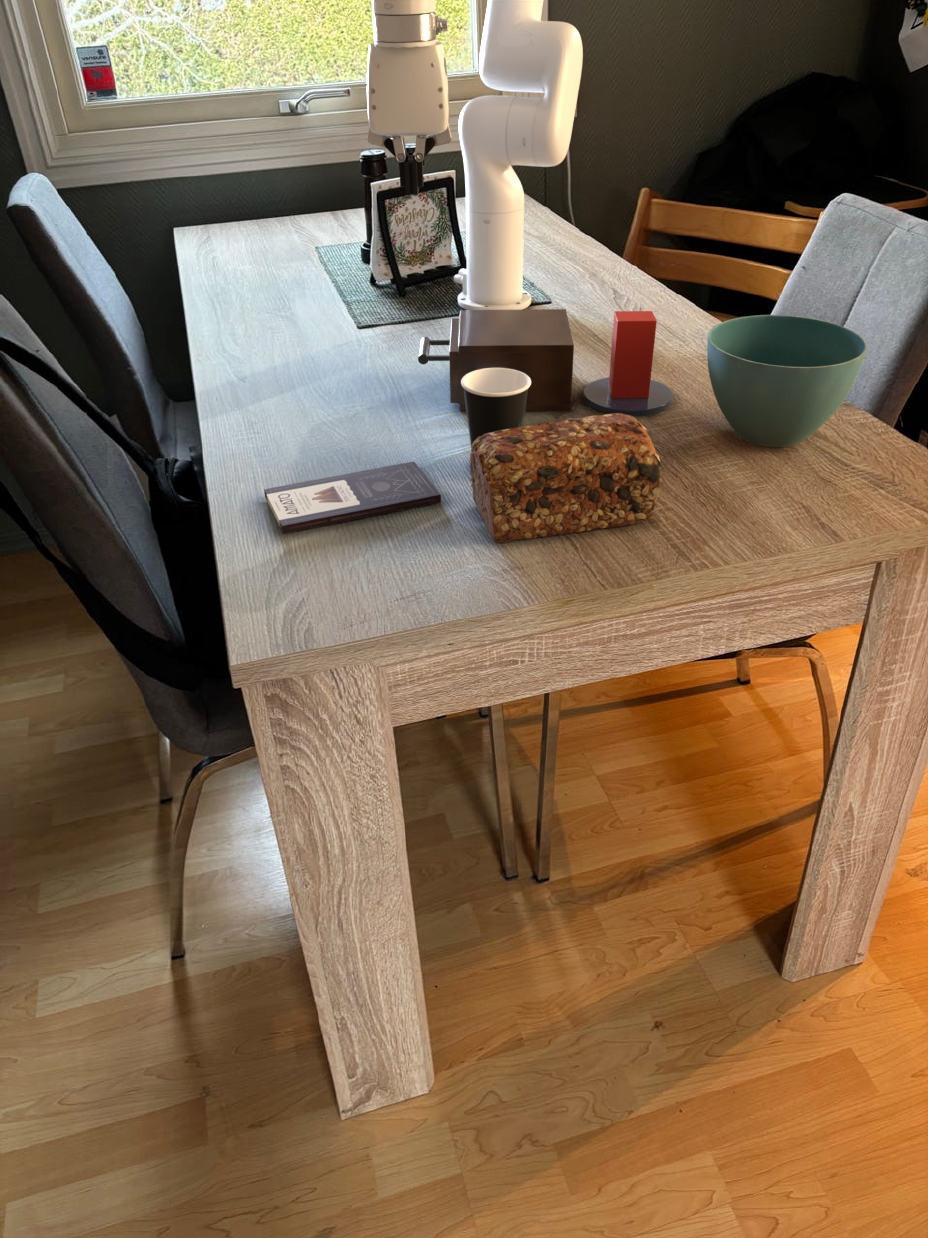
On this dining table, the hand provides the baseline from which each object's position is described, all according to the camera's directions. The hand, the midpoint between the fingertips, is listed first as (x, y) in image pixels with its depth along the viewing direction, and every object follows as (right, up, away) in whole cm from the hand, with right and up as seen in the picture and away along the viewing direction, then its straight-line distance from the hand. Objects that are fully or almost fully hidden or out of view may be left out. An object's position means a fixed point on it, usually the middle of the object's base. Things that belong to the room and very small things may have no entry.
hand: (412, 192), depth 128 cm
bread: (+17, -45, -21) cm, 53 cm away
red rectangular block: (+29, -25, +4) cm, 39 cm away
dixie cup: (+11, -38, -12) cm, 42 cm away
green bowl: (+45, -33, -5) cm, 56 cm away
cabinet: (+14, -24, +7) cm, 29 cm away
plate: (+29, -26, +5) cm, 39 cm away
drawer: (+10, -24, +7) cm, 26 cm away
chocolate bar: (-6, -43, -18) cm, 47 cm away
